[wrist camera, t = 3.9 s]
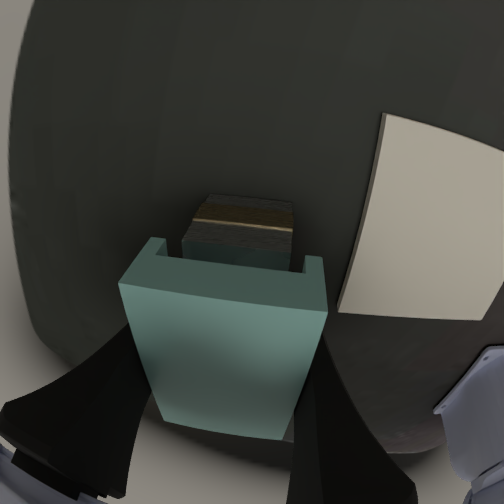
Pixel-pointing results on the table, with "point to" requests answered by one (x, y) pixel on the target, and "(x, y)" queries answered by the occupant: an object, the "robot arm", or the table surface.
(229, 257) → the grey and brown box
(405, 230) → the mat
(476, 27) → the table surface
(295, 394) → the lid
